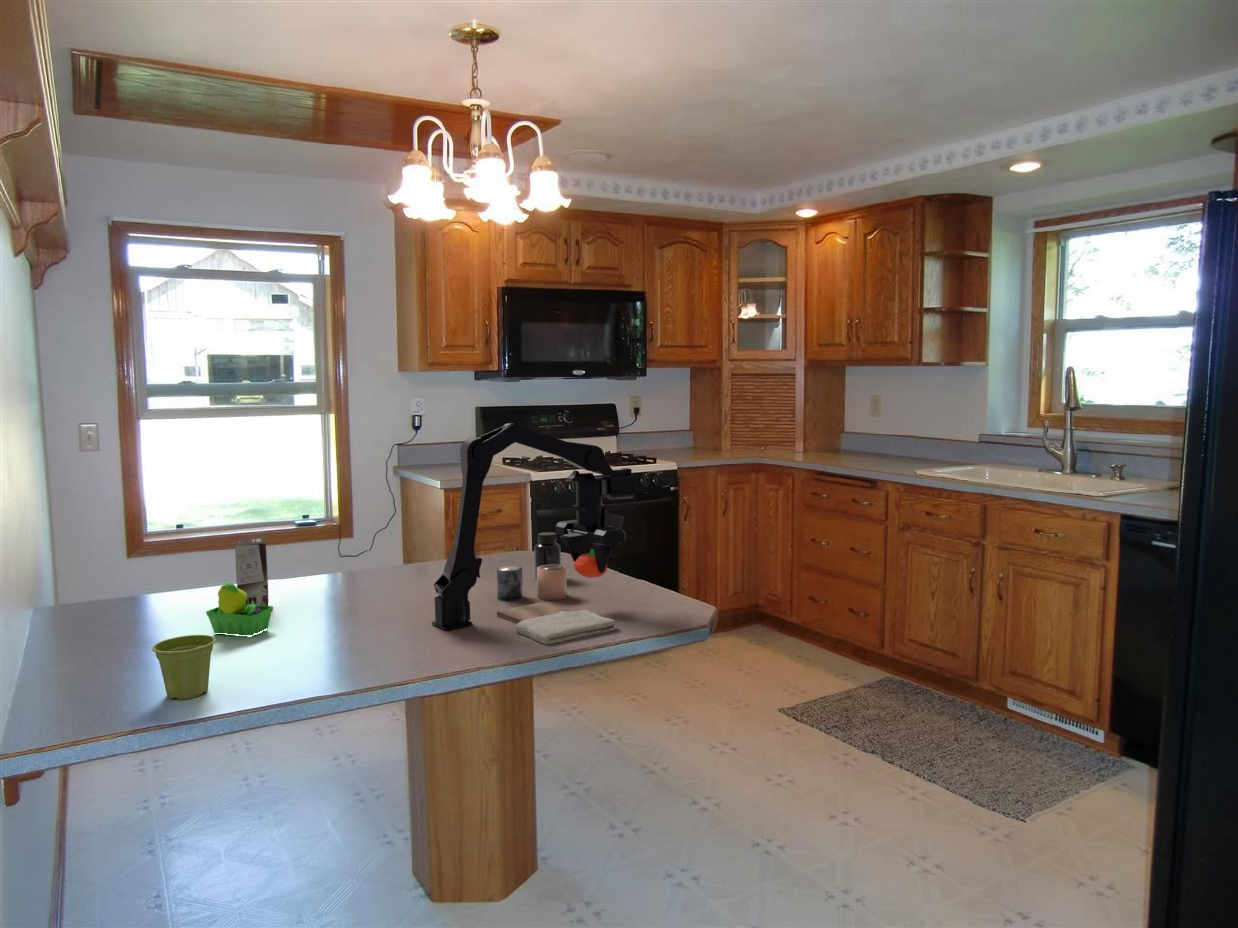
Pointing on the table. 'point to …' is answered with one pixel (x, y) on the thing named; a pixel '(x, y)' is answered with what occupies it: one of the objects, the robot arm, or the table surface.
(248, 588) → the coffee box
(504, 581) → the black metal can
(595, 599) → the table surface
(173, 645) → the plant pot
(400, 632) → the table surface
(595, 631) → the washcloth
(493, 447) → the robot arm
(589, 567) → the pumpkin
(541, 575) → the terracotta cup
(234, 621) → the fruit basket
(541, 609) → the walnut board
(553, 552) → the supplement bottle
